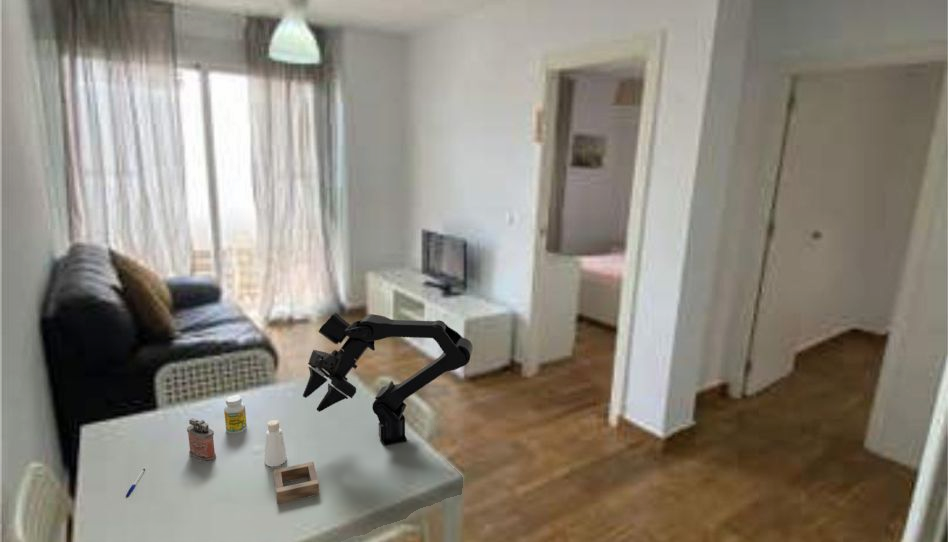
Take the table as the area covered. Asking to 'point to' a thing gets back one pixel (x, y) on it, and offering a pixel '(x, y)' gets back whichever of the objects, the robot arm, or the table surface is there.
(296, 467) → the socket block
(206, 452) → the lighter
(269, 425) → the pepper shaker
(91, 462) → the table surface
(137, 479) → the ballpoint pen
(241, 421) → the supplement bottle
